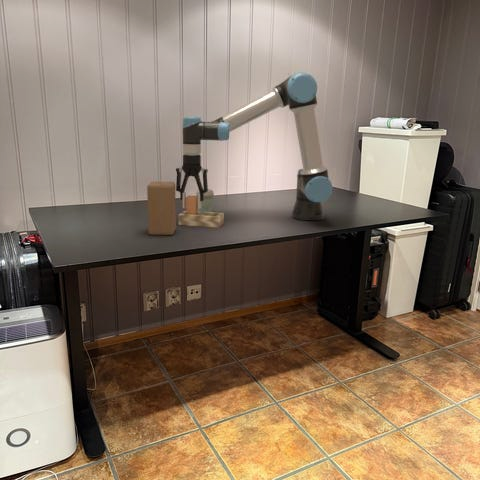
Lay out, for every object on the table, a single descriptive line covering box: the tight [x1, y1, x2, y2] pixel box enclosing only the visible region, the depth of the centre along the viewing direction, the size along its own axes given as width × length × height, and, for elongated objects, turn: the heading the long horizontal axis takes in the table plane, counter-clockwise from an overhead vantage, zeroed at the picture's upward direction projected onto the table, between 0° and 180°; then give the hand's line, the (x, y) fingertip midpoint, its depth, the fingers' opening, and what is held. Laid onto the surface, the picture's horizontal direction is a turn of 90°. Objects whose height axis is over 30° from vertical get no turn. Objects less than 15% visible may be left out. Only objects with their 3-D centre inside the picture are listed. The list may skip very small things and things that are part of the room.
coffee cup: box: [195, 188, 215, 212], centre depth 220 cm, size 8×8×12 cm
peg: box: [185, 195, 198, 215], centre depth 204 cm, size 4×4×12 cm
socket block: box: [178, 210, 225, 229], centre depth 204 cm, size 18×9×4 cm, turn 80°
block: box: [146, 180, 177, 236], centre depth 187 cm, size 10×10×20 cm
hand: (192, 207), depth 204 cm, fingers open, 6 cm apart
